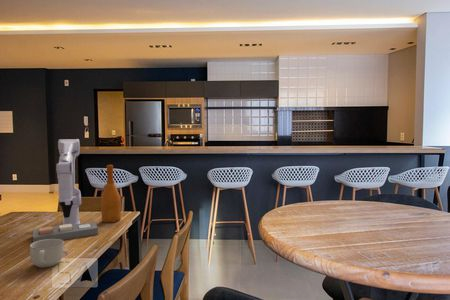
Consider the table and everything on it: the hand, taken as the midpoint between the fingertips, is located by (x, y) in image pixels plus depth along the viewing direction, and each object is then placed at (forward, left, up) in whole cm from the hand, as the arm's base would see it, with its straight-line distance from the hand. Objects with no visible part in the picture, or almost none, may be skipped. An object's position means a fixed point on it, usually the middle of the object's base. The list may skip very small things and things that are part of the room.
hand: (66, 217), depth 147 cm
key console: (0, -1, -8) cm, 8 cm away
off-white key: (0, -1, -6) cm, 6 cm away
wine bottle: (-14, +22, -9) cm, 28 cm away
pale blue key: (0, +7, -7) cm, 10 cm away
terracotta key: (0, -9, -6) cm, 10 cm away
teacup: (+33, -10, -9) cm, 35 cm away
